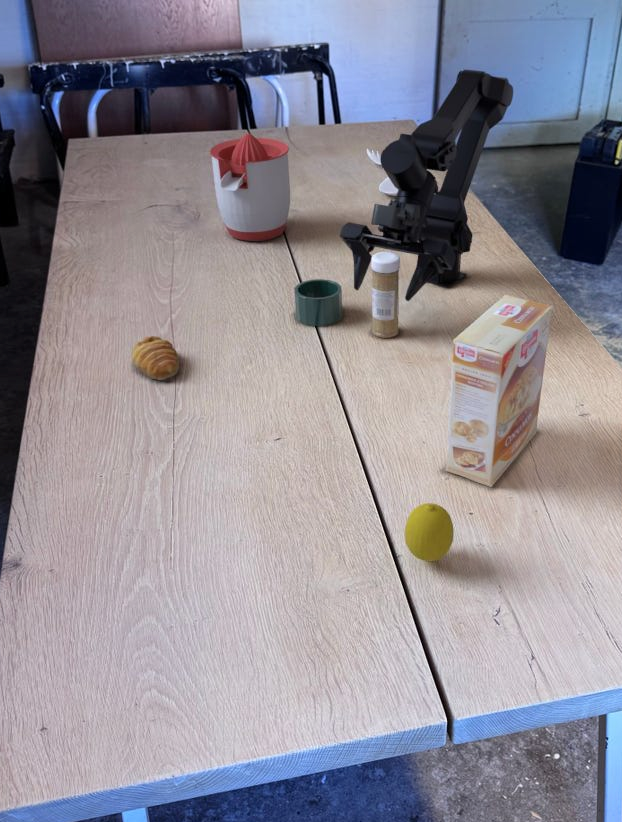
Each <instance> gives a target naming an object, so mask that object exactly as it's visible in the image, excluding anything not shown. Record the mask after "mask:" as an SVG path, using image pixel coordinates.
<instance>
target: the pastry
mask: <svg viewBox="0 0 622 822" xmlns="http://www.w3.org/2000/svg"><path fill="white" fill-rule="evenodd" d="M131 357H132V359H131V360H132V361H131V362H132V363H133V365H134V366H135V368H136V369H137V370H138V371H139V372H140V373H142V374H143V375H145V376H147V377H148V378H149V379H151V380H157V381H162V380H165V379H168V378H172V377H174V376H176V375H177V374H178V372H179V370H180V361H179V353H178V352H177V350H176V349H175V348H174V345H173V344H172V343H171V342H170V341H169V340H167V339H162V338H161V337H160V336H156V335H150V336H146V337H144V338H142V339H141V340H140V341H137V342H136V344H135V345H134V346H133V348H132V351H131Z"/></svg>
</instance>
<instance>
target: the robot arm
mask: <svg viewBox="0 0 622 822" xmlns="http://www.w3.org/2000/svg"><path fill="white" fill-rule="evenodd" d="M455 79H456V80H455V83H454V85H453V87H452V88H451V90H450V91H449V93H448V94H447V96H446V97H445V98H444V101H442V103H441V105H440V107H439V108H438V110H437V111H436V113H435V114H434V116H433V117H432V118H431V119H429V120H426V121H424V122H422V123H420V124H419V125H418V126H417V127H416V128H415V129H414V131H412V133H409V134H407V133H400V135H399V138H398V139H397V140H394V141H392V142H390V143H389V144H388V145H387V146H385V148H384V149H382V152H381V154H380V157H381V158H380V160H381V165H382V166H381V167H382V169H383V170H384V172H385V174H386V175H387V177H389V178H390V180H391V182H392V183H393V185H394V186H395V187H396V188H397V189H398V192H397V195H396V196H395V198H394V200H390V201H389V203H388V205H385V204H381V203H380V204H379V203H374V204H373V210H372V216H371V222H370V224H371V225H372V226H377V231H379V232H380V233H382V235H381V234H375V233H373V232H372V231H371V229H370V228H369V227H368V226H367V224H361V223H355V222H350V221H348V222H346V223H345V224H343V226H342V227H341V230H340V233H339V238H340V239H341V240H342V241H343V243H344V244H345V245H346V246H347V248H349V250H350V251H351V253H352V259H353V288H354V290H355V291H359V290H360V288H361V286H362V284H363V282H364V279H365V277H366V274H367V272H368V269H369V267H370V265H371V258H372V256H373V255H371V253H372V252H374V249H375V248H379V249H385V250H390V251H395V252H400V253H406V254H410V255H416V256H417V258H416V259H417V260H416V266H415V268H414V272H413V274H412V276H411V279H410V281H409V284H408V287H407V290H406V294H405V297H404V299H405V301H407V302H410V301H411V300H412V299H413V298H414V296H416V294H417V293H418V292H419V291H420V290H421V289H422V288H423V287H424V286H425V285H426V284H427V283H432V284H435V285H437V286H439V287H440V286H441V287H443V288H450V287H452V286H454V285H455V284H457V283H459V282H460V281H462V280H464V279H466V278H467V276H468V274H467V273H466V272H462V271H461V264H462V263H461V262H462V261H461V260H462V255H463V254H465V253H469V252H471V246H472V243H473V232H472V231H471V229H470V227H469V225H468V220H469V218H468V217H469V216H468V214H467V213H468V212H467V209H466V205H465V201H466V198H467V196H468V192H469V190H470V186H471V184H472V181H473V179H474V176H475V173H476V170H477V167H478V165H479V161H480V158H481V155H482V153H483V150H484V147H485V144H486V141H487V138H488V135H489V133H490V130H492V129H493V128H494V127H495V126H496V125H498V124H499V123H500V122H501V121H502V120H503V119H504V117H505V114H506V112H507V111H508V108H509V107H510V106H511V104H512V102H513V97H514V87H513V85H512V84H511V83H510V82H509V79H508V77H500V76H493V75H491V74H489V73H487V72H486V71H483V70H474V69H466V68H465V69H463V70H460V71H458V74H457V76H456V78H455ZM457 137H458V138H457ZM456 140H457V141H456ZM431 171H437V172H443V173H445V172H446V173H445V175H444V177H443V181H442V184H441V187H440V190H439V185H438V181H437V180H436V179H437V178H436V176H434V174H433V173H432V172H431Z"/></svg>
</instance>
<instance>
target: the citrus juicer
mask: <svg viewBox="0 0 622 822" xmlns="http://www.w3.org/2000/svg"><path fill="white" fill-rule="evenodd" d="M289 151H290V147H289V146H288V144H286V143H285V142H283V141H282V140H281V141H280V140H278V139H272V138H266V137H265V138H262V137H255V136H254V135H253V134H251V132H247V133H245V134H244V135H243V136H242V137H241V138H237V139H231V140H226V141H222V142H220V143H217V144H215V145H213V146H212V147H211V148H210V150H209V155H210V156H211V163H212V164H211V165H212V171H213V180H214V187H215V188H214V189H215V196H216V202H217V206H218V210H219V214H220V216H221V218H222V221H223V225H224V226H225V229H226V230H227V232H228V234H229V235H230V236H231V237H232V238H234V239H237V240H241V241H248V242H249V241H250V242H251V241H252V242H257V241H259V242H266V241H268V240H271V239H274V238H276V237H279V236H280V235H282V234H283V233H284V231H285V229H286V227H287V223H288V218H289V212H290V208H291V207H290V206H291V184H290V183H291V182H290V169H289Z"/></svg>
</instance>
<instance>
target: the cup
mask: <svg viewBox="0 0 622 822" xmlns="http://www.w3.org/2000/svg"><path fill="white" fill-rule="evenodd" d="M293 291H294V304H295V305H294V306H295V319H296V320H297V321H298V322H299V323H300V324H303V325H306V326H311V327H325V326H330V325H333V324H334V325H335V323H336V324H337V322H339V321H341V319H342V318H343V291H342V286H341V285H340V284H339V283H338V282H336V281H333V280H331V279H324V278H323V279H322V278H317V279H309V280H303V281H302V282H300V283H298V284H296V285H295V287H294V290H293Z"/></svg>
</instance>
